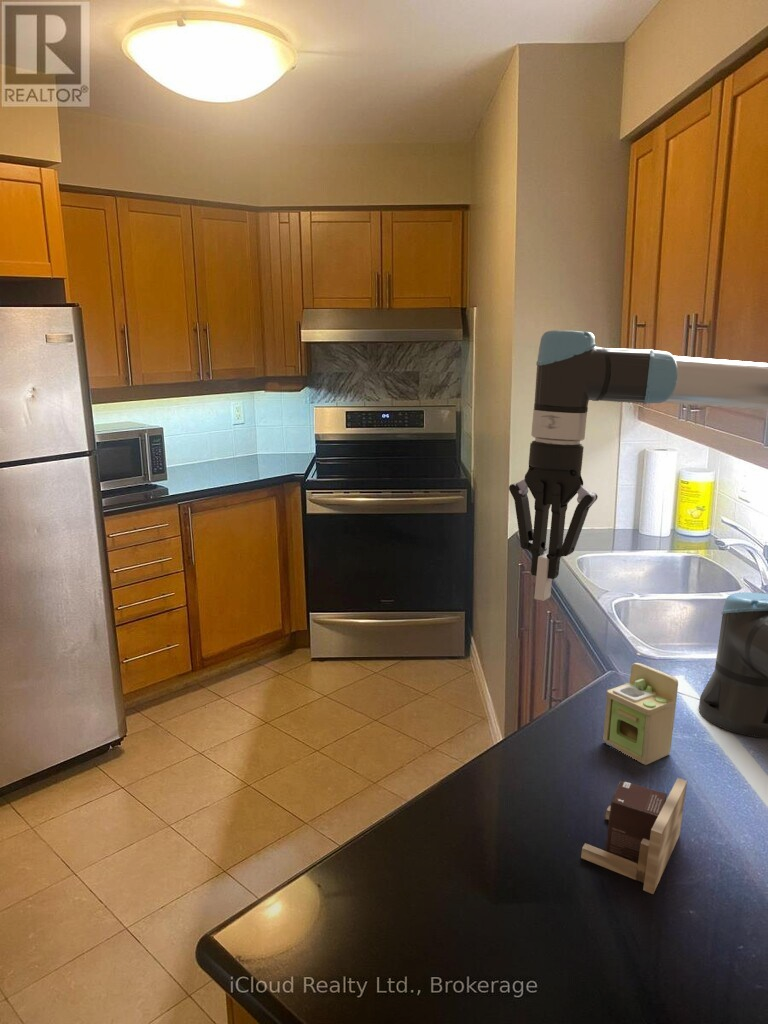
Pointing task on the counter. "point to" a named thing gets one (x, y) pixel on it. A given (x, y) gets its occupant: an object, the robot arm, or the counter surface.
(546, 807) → the counter surface
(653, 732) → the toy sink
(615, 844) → the box
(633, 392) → the robot arm
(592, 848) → the rack
